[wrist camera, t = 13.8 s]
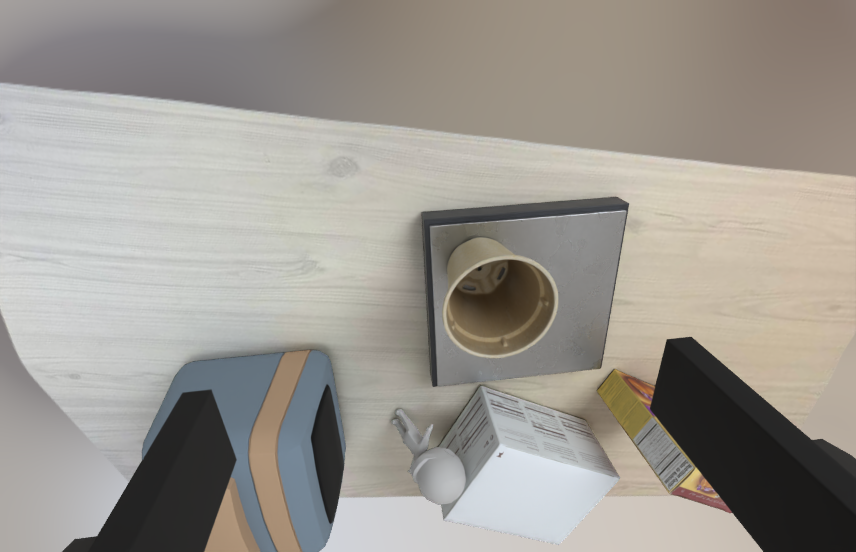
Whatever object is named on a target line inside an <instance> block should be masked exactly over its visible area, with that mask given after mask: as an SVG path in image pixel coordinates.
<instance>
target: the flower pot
mask: <svg viewBox="0 0 856 552" xmlns="http://www.w3.org/2000/svg"><path fill="white" fill-rule="evenodd" d="M478 267H481V270H478V269H477V268H478ZM502 268H505V269H504V274H503V276H502V277H501V278H500V279H498V277H499V274H500V272H501V269H502ZM447 275H448V291H447V293H446V295H445V298H444V302H443V307H442V319H443V324H444V327H445V331H446V332H447V334H448V336H449V338H450V339H451V341H452V342H453V343H454V344H455V345H456V346H457V347H459V348H460V349H461V350H463V351H465V352H467V353H469V354H471V355H474V356H478V357H483V358H504V357H508V356H512V355H515V354H518V353H521V352H522V351H525V350H527V349H528V348H530V347H531V346H533V345H535V344H536V343H537V342H538V341H539V340H540V339H541V338H542V337H543V336H544V335H545V334H546V333H547V331H548V330H549V328H550V327H551V325H552V323H553V321H554V318H555V316H556V313H557V309H558V290H557V287H556V284H555V282H554V280H553V278H552V276H551V275H550V273H549V272H548V271H547V270H546V269H545V268H544V267H543V266H541V265H540V264H539V263H537V262H535V261H534V260H532V259H529V258H526V257H523V256H519V255H515V254H513V253H512V252H511V251H509V250H508V249H507V248H505V247H504V246H503V245H502V244H500V243H499V242H497V241H495V240H493V239H490V238H482V237H479V238H473V239H471V240H469V241H467V242H465V243H463V244H461V245H459V246H458V247H457V248H456V249H455V250H454V252H453V253H452V254H451V256H450V258H449V261H448V266H447ZM465 285H468V286H470V287H474V288H475V290H469V289H464V288H463V286H465Z"/></svg>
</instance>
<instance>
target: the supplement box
mask: <svg viewBox="0 0 856 552" xmlns="http://www.w3.org/2000/svg"><path fill="white" fill-rule="evenodd" d="M438 448H446V449H449V450H451V451H452V452H454V453H455V455H457V456H458V457H459V458H460V460H461V462H462V464H463V466H464V470H465V475H466V483H465V487H464V490H463V492H462V494H461V495H460V496H459V497H458V498H457V499H456V500H454V501H453V502H452V503H449V504H441V507H442V512H443V520H444V521H449V522H454V523H459V524H464V525H468V526H473V527H478V528H483V529H487V530H492V531H497V532H501V533H506V534H511V535H516V536H520V537H525V538H529V539H534V540H538V541H543V542H548V543H552V544H557V545H559V544H560V543H561V542H562V541H563V540H564V539H565V538H566V537H567V536H568V535H569V534H570V532H572V530H573V529H574V528H575V527H576V526H577V525H578V524H579V523H580V522H581V521H582V520H583V518H584V517H585V516H586V515H587V514H588V513H589V512H590V511H591V510H592V509H593V508H594V507H595V506H596V504H597V503H598V502H599V501H600V500H601V499H602V498H603V497H604V496H605V495H606V494H607V493H608V492H609V490H610V489H611V488H612V487H613V486H614V485H615V484H616V483H617V482H618V480H619V479H620V477H619V475H618V473H617V472H616V470H615V468H614V467H613V465H612V463H611V462H610V460H609V458H608V457H607V455H606V453H605V452H604V450H603V448H602V447H601V445H600V443H599V442H598V440H597V438H596V437H595V435H594V433H593V432H592V430H591V428H590V427H589V425H588V423H587V422H586V420H583V419H580V418H577V417H574V416H571V415H568V414H565V413H562V412H559V411H556V410H553V409H550V408H547V407H544V406H541V405H538V404H535V403H532V402H529V401H526V400H523V399H520V398H517V397H514V396H511V395H508V394H505V393H502V392H499V391H496V390H493V389H490V388H487V387H484V386H480V387H479V389H478V390H477V392H476V393H475V395H474V396H473V397H472V399H471V400H470V402H469V403H468V405H467V406H466V408H465V409H464V411H463V412H462V413H461V415H460V416H459V418H458V419H457V421H456V422H455V424H454V425H453V427H452V428H451V430H450V431H449V432H448V434H447V435H446V437H445V438H444V440H443V441H442V443H441V444H440V446H439V447H438Z"/></svg>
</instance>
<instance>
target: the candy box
mask: <svg viewBox="0 0 856 552" xmlns="http://www.w3.org/2000/svg"><path fill="white" fill-rule="evenodd" d="M654 389H655V386H653V385H651V384H648V383H646V382H643V381H641V380H639V379H636V378H634V377H632V376H629V375H627V374H625V373H622V372H620V371H618V370H616V369H614V371H613V372H612V373H611V374H610V375H609V377H608V378H607V379H606V380H605V381H604V383H603V384H602V385H601V386H600V387H599V389H598V390H597V392H598V393H599V395H600V396H601V398H602V399H603V401H604V402H605V403H606V405H607V406H608V408H609V409H610V410H611V412H612V413H613V415H614V416H615V418H616V419H617V420H618V422H619V423H620V425H621V426H622V428H623V429H624V430H625V432H626V433H627V435H628V436H629V437H630V439H631V440H632V442H633V443H634V444H635V446H636V447H637V449H638V450H639V452H640V453H641V454H642V456H643V457H644V459H645V460H646V461H647V463H648V464H649V466H650V467H651V468H652V470H653V471H654V473H655V474H656V476H657V477H658V478H659V480H660V481H661V483H662V484H663V485H664V487H665V488H666V490H667V491H668V493H669V494H671V495H675V496H679V497H682V498H685V499H689V500H692V501H695V502H698V503H702V504H705V505H708V506H711V507H714V508H718V509H721V510H724V511H725V512H729V513H732V512H731V510H730V509H729V508H728V507H727V505H726V504H725V503H724V502H723V500H722V499H721V498H720V497H719V495H718V494H717V493H716V492H715V490H714V489H713V488H712V487H711V485H710V484H709V483H708V482H707V480H706V479H705V478H704V477H703V475H702V474H701V473H700V472H699V470H698V469H697V468H696V467H695V465H694V464H693V463H692V462H691V460H690V459H689V458H688V457H687V455H686V454H685V453H684V452H683V450H682V449H681V448H680V447H679V445H678V444H677V443H676V442H675V440H674V439H673V438H672V437H671V435H670V434H669V433H668V432H667V430H666V429H665V428H664V427H663V425H662V424H661V423H660V422H659V420H658V419H657V418H656V417H655V415H654V414H653V413H652V412H651V410H650V405H651V401H652V397H653V393H654Z"/></svg>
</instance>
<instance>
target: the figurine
mask: <svg viewBox="0 0 856 552" xmlns="http://www.w3.org/2000/svg"><path fill="white" fill-rule="evenodd" d="M395 414H396V415H399V416H400V418H401V420H402V422H403V424H402V423H401V422H400V421H399V419H394V420H392V422H391V423H392V424H393V425H396V427H397V429H398V431H399V433H400V435H401V437H402V439H403V443H404V444H405V445H406V446H407V447H408V448H409V449H410V450H411V452H412V454H413V455H414V458H413V461H412V464H411V467H410V470H409V471H408V472H410V474H411V475H412V477H413V479H414V482H415V483H417V484H418V486H419V489H420V491H421V493H422V494H423V496H424V497H425V498H426V499H427V500H429V501H431V502H433V503H436V504H438V505H440V504H449V503H452V502H453V501H454V500H456V499H457V498H458V497H459V496H460V495H461V494H462V492H463V490H464V487H465V483H466V475H465V470H464V466H463V464H462V462H461V460H460V458H459V457H458V456H457V455H455V453H454V452H452V451H451V450H449V449H446V448H438V447H434V448H431V449H429V450H427V449H428V442H429V437H430V434H431V431H432V428H433V424H431V425H430V426H429V427H428V428H427V430H426V432H425V434H424V436H423V437H422V435H421V434H420V432H419V430H418V428H417V427H416V426H415V425H414V424H413V422H412V421H411V420H410V419H409V418H408V416H407V415H406V414H405V413H404V411H403V410H402V409H399V410H396V412H395Z"/></svg>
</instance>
